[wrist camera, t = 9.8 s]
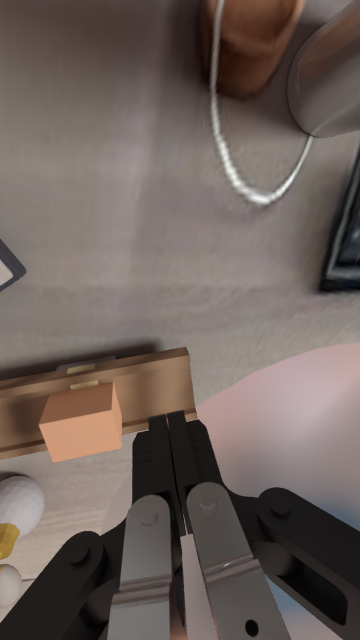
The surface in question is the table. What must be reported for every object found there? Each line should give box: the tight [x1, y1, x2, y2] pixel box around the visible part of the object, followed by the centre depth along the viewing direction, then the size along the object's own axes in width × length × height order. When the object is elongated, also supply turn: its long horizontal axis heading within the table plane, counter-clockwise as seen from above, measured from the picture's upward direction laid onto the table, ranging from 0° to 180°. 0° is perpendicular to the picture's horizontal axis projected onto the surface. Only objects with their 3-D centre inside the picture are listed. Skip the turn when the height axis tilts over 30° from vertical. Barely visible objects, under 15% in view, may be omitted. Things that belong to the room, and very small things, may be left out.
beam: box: [0, 347, 197, 460], centre depth 38 cm, size 24×9×5 cm, turn 97°
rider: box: [39, 382, 122, 463], centre depth 34 cm, size 7×5×5 cm
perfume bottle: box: [0, 476, 45, 608], centre depth 39 cm, size 8×10×12 cm
